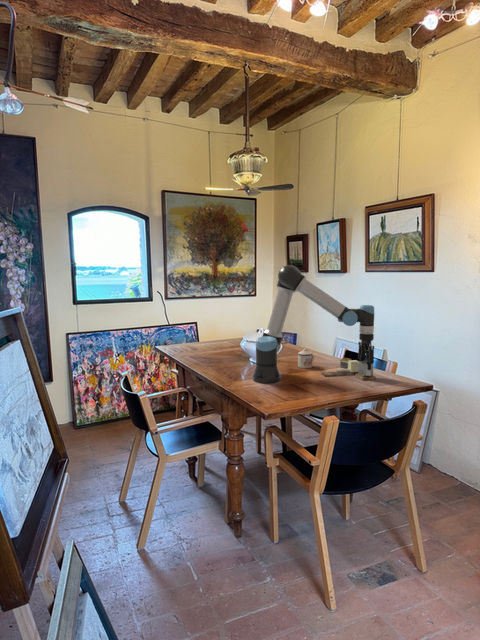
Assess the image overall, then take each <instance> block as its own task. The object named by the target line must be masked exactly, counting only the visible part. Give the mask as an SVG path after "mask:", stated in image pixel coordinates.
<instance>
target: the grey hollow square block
mask: <svg viewBox="0 0 480 640" xmlns="http://www.w3.org/2000/svg"><path fill="white" fill-rule="evenodd" d="M357 361H358V374H360V375H362V376H366V363H367V360H365V361H360V360H357ZM372 375H373V376H374V364H371V375H369V376H372Z"/></svg>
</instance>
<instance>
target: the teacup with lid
mask: <svg viewBox="0 0 480 640" xmlns="http://www.w3.org/2000/svg"><path fill="white" fill-rule="evenodd" d="M297 355H298V356H297V357H298V358H297V359H298V360H297V367H298V368H300V369H311V368H313V362H314V359H315V355H314V354H313V352H311V351H309V350H308V349H307V348H303V350H301V351H299V352H298V353H297Z"/></svg>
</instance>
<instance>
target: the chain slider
mask: <svg viewBox="0 0 480 640" xmlns="http://www.w3.org/2000/svg"><path fill="white" fill-rule="evenodd" d="M358 361H359V360H357V359H355V360H354V359H353V360H352V359H350V360H349V361H348V369H336V370H335V372H358Z"/></svg>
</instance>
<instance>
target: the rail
mask: <svg viewBox="0 0 480 640" xmlns="http://www.w3.org/2000/svg"><path fill="white" fill-rule="evenodd" d="M320 374H321V375H322V376H323V377H325V378H327V377H341V376H342V377H343V376H345V377H346V376H355V374H358V372H336V371H323V372H321V371H320Z"/></svg>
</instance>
